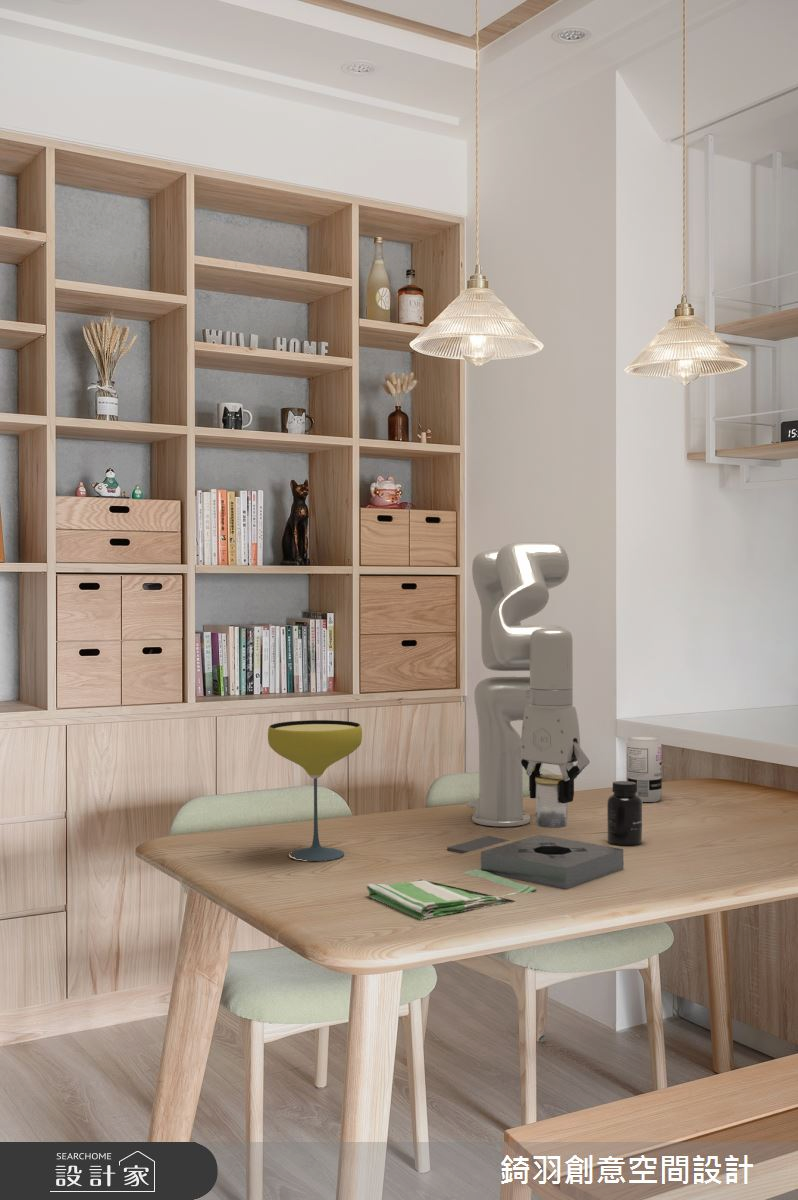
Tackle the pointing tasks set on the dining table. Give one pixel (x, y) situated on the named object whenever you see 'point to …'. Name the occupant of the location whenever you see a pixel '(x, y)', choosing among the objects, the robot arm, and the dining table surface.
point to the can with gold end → (549, 802)
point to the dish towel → (440, 896)
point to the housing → (552, 861)
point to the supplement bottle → (624, 814)
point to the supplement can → (645, 766)
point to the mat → (475, 844)
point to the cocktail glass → (315, 761)
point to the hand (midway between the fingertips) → (551, 798)
